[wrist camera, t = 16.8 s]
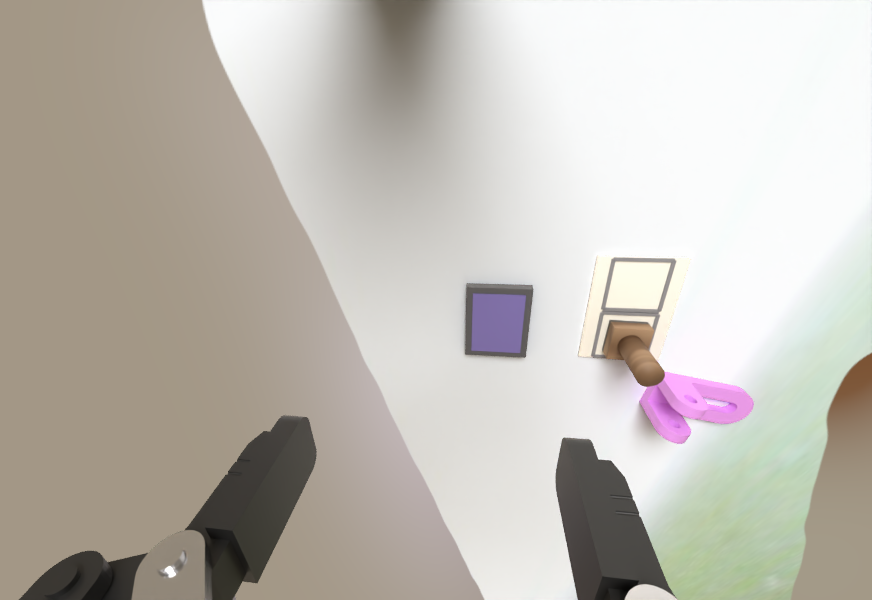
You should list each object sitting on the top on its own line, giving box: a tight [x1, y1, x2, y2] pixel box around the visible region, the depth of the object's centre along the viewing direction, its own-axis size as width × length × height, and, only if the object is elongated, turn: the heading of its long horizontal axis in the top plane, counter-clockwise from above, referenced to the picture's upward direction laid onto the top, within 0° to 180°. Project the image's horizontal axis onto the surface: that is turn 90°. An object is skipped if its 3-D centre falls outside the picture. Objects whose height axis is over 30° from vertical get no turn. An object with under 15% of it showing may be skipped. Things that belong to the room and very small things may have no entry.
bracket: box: [639, 372, 754, 444], centre depth 45 cm, size 13×6×7 cm, turn 81°
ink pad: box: [465, 283, 533, 357], centre depth 46 cm, size 10×8×1 cm
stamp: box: [602, 320, 665, 387], centre depth 41 cm, size 4×4×8 cm
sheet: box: [578, 256, 691, 360], centre depth 43 cm, size 14×10×1 cm
